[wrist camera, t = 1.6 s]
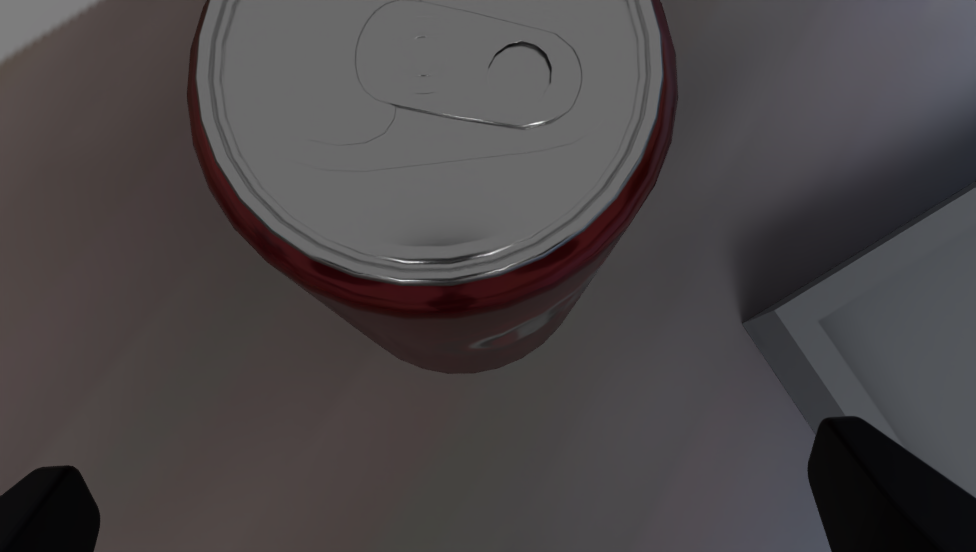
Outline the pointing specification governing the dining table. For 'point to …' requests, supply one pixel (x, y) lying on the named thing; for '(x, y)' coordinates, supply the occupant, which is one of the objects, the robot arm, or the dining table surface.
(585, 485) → the dining table surface
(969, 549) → the robot arm
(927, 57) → the dining table surface
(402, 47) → the soda can
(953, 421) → the tray
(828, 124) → the dining table surface
